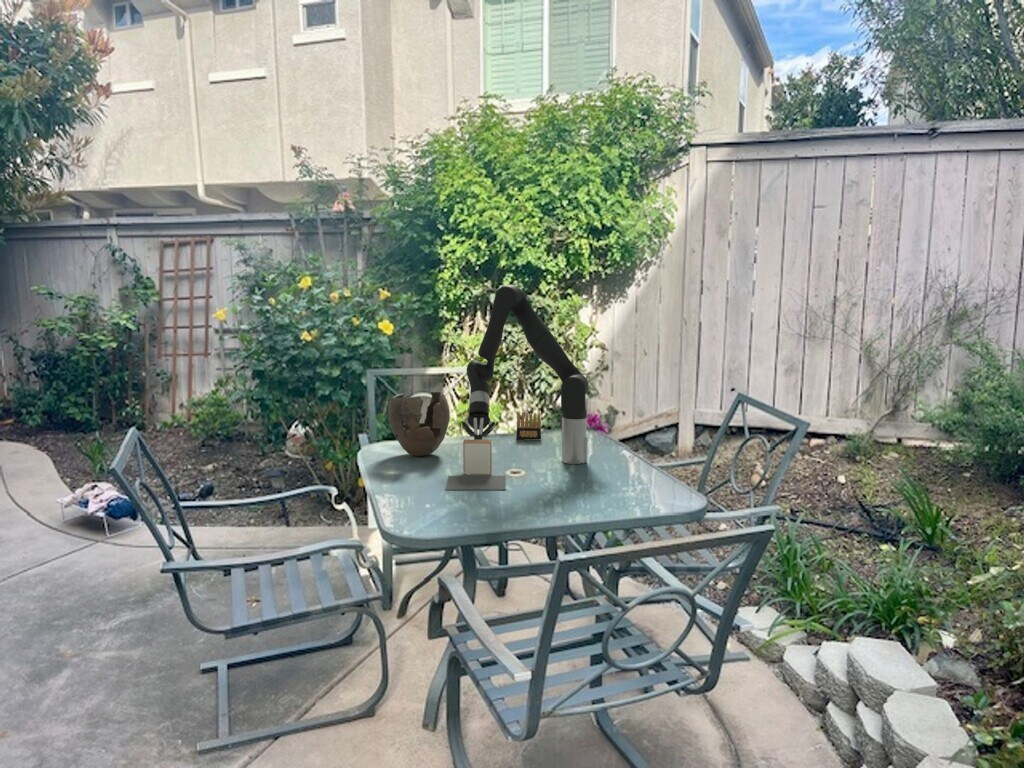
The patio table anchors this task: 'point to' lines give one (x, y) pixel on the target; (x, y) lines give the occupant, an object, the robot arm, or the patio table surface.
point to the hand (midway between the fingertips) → (478, 445)
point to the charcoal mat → (476, 483)
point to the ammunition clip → (528, 427)
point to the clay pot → (415, 434)
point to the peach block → (477, 456)
